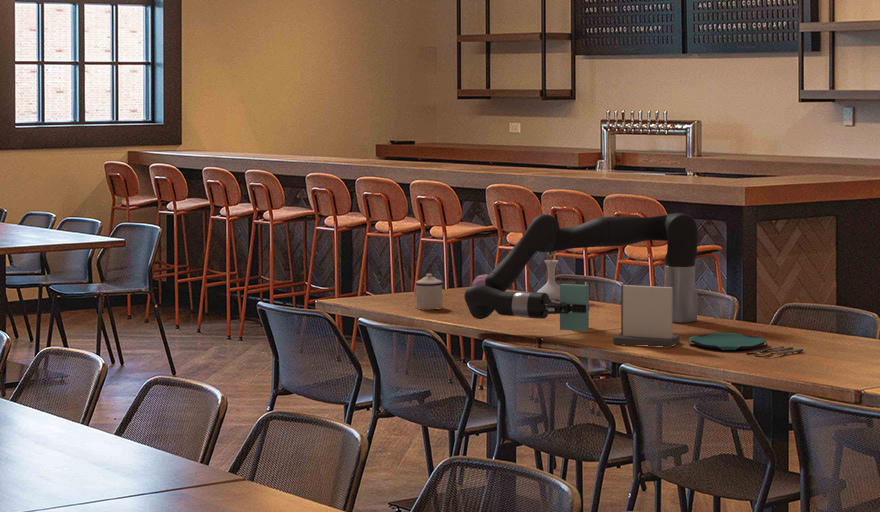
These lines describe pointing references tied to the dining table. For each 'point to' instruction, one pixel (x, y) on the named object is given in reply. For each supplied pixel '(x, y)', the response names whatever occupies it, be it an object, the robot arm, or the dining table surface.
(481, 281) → the cupcake
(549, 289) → the flower in vase
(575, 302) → the teal flat panel
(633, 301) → the ticket stand
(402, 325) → the dining table surface
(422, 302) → the teacup with lid
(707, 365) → the dining table surface
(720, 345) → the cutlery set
